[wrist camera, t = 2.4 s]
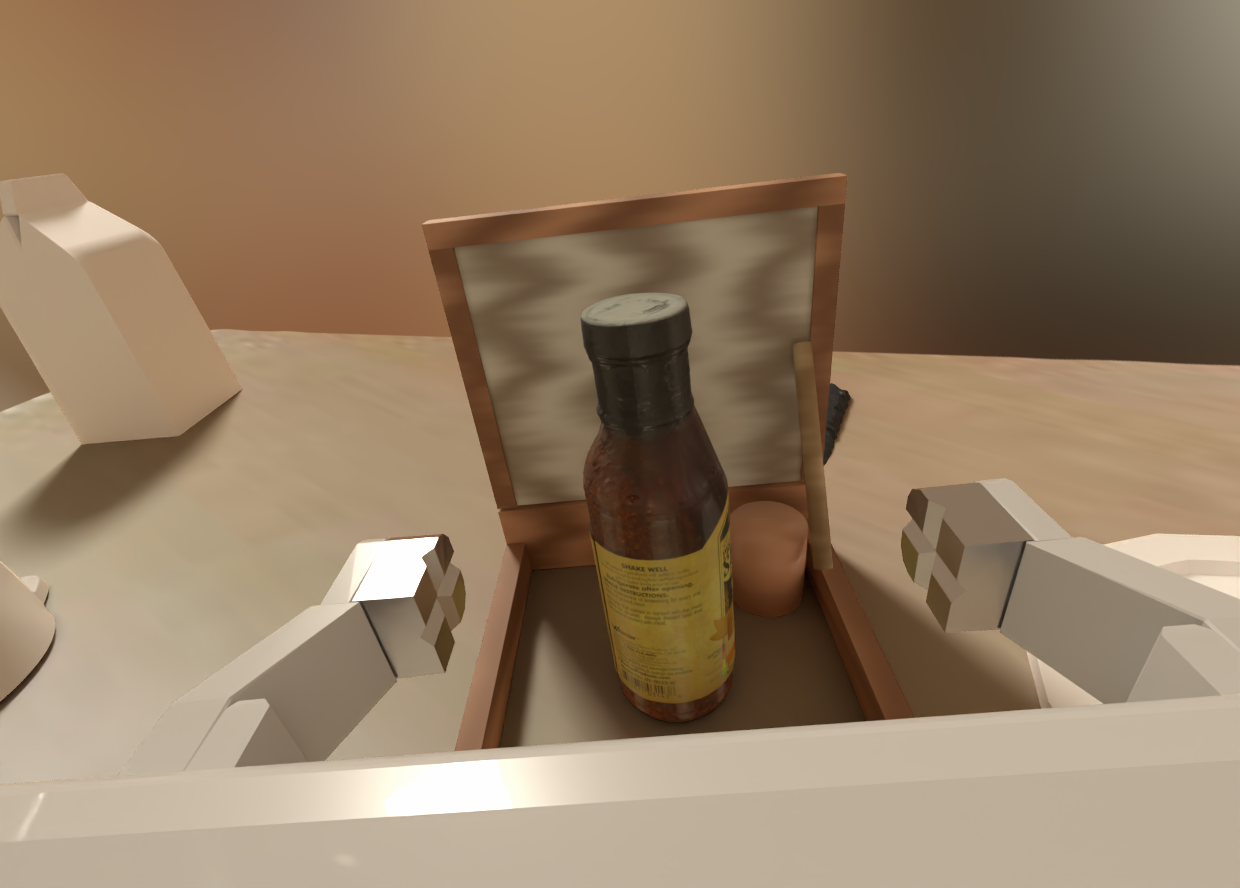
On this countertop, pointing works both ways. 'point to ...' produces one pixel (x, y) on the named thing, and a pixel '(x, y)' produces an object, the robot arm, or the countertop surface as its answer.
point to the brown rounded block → (768, 557)
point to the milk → (105, 316)
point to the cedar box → (719, 373)
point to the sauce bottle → (658, 511)
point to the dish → (1196, 557)
